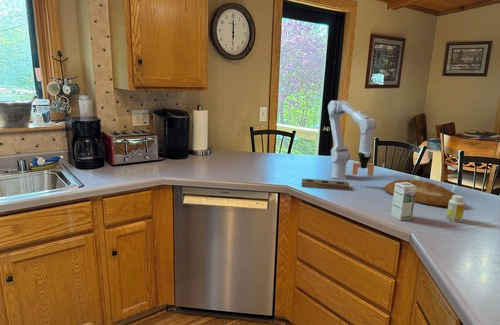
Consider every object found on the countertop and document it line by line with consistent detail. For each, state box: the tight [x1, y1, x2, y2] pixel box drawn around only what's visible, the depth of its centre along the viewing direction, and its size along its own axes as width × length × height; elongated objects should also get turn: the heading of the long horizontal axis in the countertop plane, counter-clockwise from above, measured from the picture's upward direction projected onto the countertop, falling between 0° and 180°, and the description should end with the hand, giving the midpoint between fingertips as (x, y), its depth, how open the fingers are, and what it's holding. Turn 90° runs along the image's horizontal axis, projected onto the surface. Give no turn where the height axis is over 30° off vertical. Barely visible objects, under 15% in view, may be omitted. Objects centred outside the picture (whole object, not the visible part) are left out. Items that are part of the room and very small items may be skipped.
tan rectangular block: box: [351, 161, 375, 177], centre depth 175 cm, size 2×10×6 cm, turn 81°
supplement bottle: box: [445, 194, 466, 223], centre depth 136 cm, size 6×6×10 cm
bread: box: [383, 179, 456, 208], centre depth 161 cm, size 18×35×9 cm, turn 48°
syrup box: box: [390, 182, 416, 221], centre depth 136 cm, size 6×6×14 cm
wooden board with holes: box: [301, 178, 350, 191], centre depth 176 cm, size 7×24×2 cm, turn 81°
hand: (363, 167), depth 175 cm, fingers closed on tan rectangular block, 2 cm apart
